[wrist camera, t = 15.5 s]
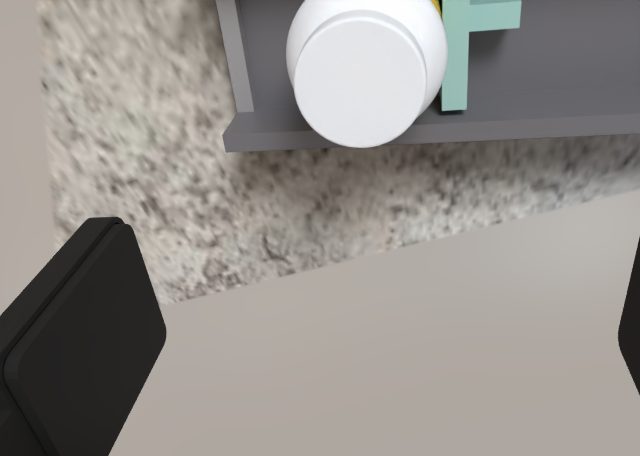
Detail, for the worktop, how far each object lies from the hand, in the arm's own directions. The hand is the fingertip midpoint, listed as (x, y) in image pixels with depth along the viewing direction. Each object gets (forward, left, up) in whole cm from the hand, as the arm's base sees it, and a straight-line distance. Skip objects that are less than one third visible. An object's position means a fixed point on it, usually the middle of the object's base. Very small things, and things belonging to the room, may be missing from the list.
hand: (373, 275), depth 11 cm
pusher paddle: (-4, 0, -22) cm, 22 cm away
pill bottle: (+1, 0, -22) cm, 22 cm away
